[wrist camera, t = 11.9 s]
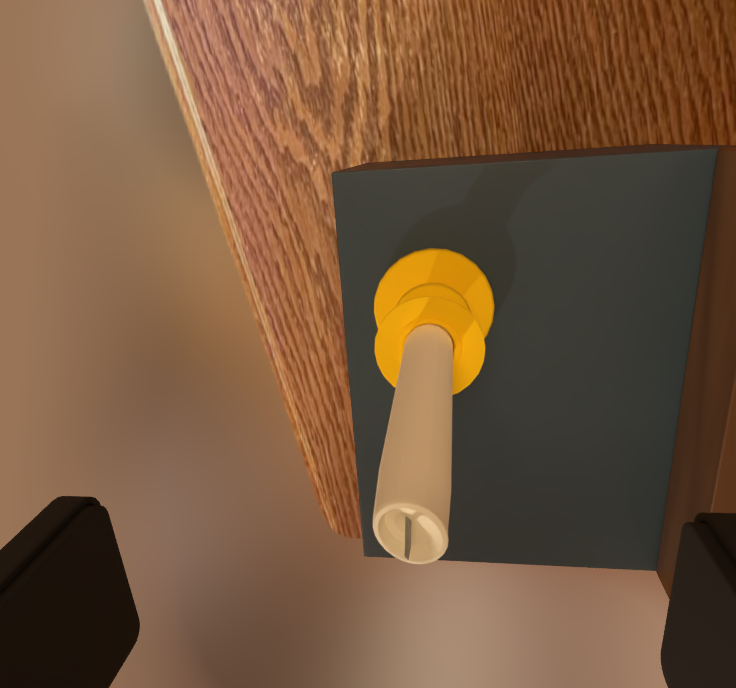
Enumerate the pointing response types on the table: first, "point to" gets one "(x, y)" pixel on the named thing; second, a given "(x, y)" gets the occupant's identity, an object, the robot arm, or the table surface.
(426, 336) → the candle
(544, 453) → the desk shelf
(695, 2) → the table surface
